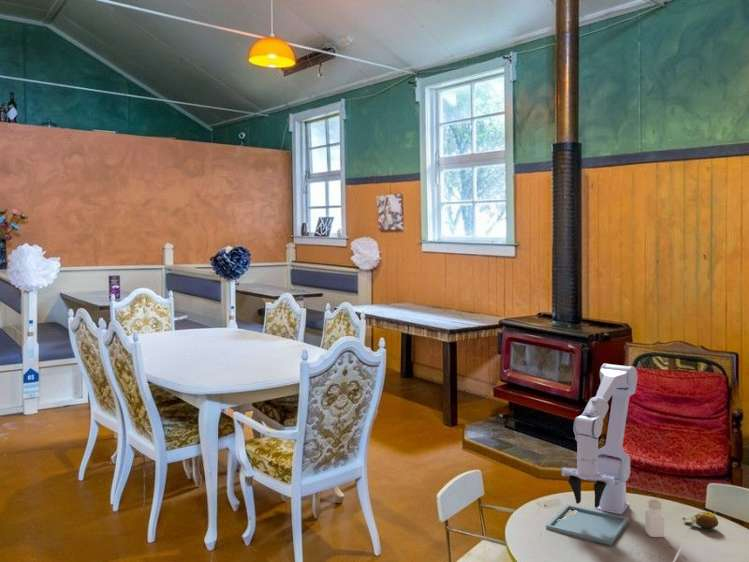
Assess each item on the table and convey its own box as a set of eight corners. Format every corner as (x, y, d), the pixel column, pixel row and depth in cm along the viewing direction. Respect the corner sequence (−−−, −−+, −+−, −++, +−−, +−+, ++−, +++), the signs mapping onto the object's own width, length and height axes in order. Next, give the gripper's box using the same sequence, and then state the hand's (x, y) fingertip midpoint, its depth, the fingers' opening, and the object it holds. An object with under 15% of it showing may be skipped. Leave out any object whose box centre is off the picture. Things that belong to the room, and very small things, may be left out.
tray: (567, 509, 195) (567, 504, 195) (628, 523, 185) (628, 517, 185) (546, 530, 181) (546, 525, 180) (611, 546, 170) (611, 541, 170)
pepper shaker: (644, 531, 179) (644, 498, 178) (658, 531, 179) (659, 498, 178) (650, 538, 175) (650, 504, 174) (665, 538, 175) (665, 504, 174)
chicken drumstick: (698, 515, 188) (699, 503, 188) (725, 526, 181) (726, 514, 181) (680, 520, 185) (680, 508, 184) (706, 532, 177) (707, 519, 177)
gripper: (558, 457, 183) (558, 503, 183) (609, 466, 174) (609, 514, 175) (566, 450, 188) (566, 495, 189) (616, 459, 180) (616, 506, 181)
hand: (587, 504), depth 182 cm, fingers open, 5 cm apart
